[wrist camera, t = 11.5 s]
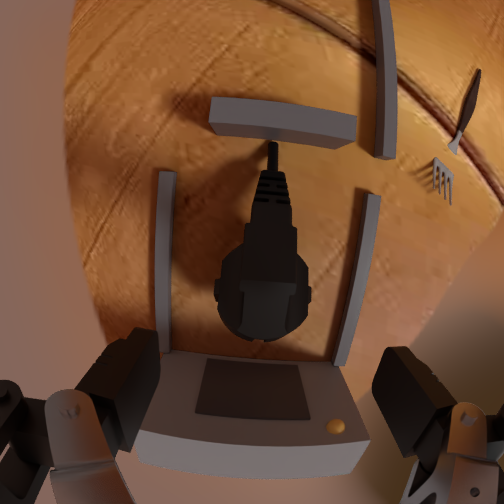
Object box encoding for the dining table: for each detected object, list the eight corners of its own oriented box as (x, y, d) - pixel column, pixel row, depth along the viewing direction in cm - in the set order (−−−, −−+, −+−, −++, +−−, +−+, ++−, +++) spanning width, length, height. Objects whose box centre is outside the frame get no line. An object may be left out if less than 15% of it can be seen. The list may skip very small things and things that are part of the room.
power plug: (317, 141, 17) (326, 337, 12) (296, 202, 24) (294, 347, 19) (230, 132, 17) (202, 329, 12) (231, 196, 24) (215, 341, 19)
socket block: (163, 171, 18) (96, 163, 9) (376, 195, 19) (456, 206, 10) (163, 383, 22) (132, 460, 13) (330, 396, 22) (356, 472, 14)
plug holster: (244, -33, 14) (243, -61, 10) (380, -7, 14) (397, -29, 10) (217, 135, 18) (208, 122, 14) (385, 160, 18) (414, 156, 14)
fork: (485, 79, 16) (497, 75, 14) (438, 205, 19) (452, 207, 17) (468, 61, 16) (480, 56, 14) (418, 186, 19) (432, 186, 17)
